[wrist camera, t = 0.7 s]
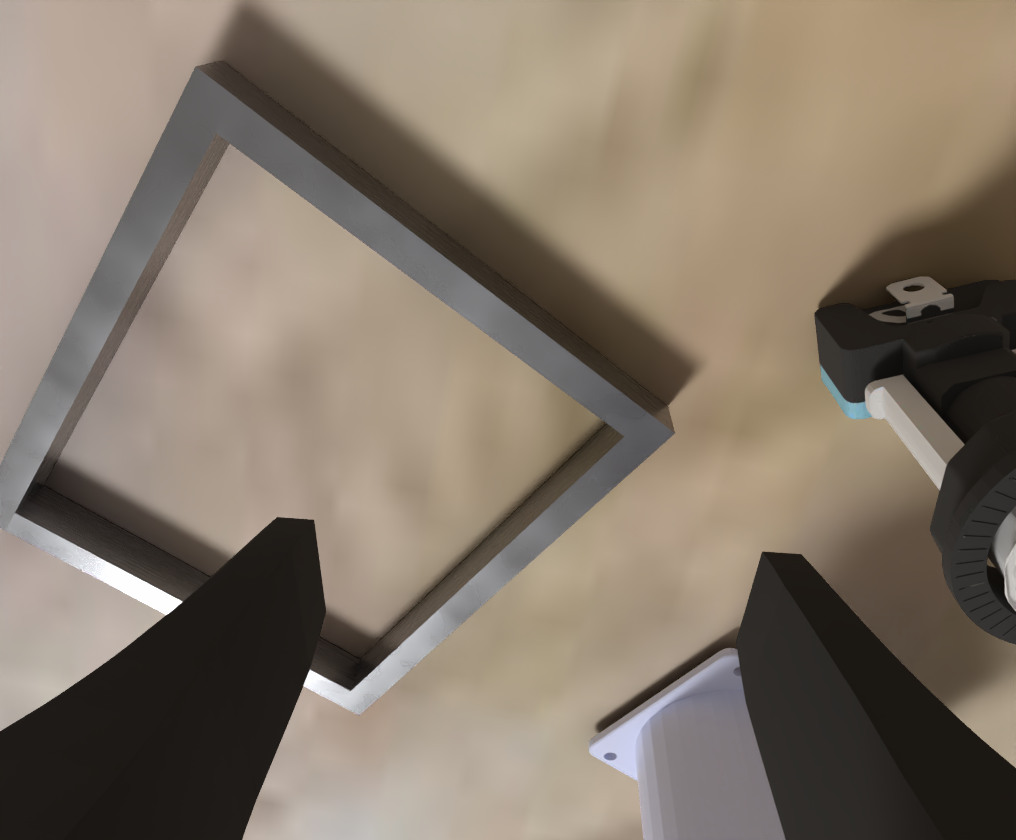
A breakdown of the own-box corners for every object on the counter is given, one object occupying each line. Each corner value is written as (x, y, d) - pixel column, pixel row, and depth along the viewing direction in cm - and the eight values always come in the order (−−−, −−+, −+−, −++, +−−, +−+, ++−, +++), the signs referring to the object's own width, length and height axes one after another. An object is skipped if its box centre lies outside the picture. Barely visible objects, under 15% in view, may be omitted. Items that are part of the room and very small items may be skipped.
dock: (668, 406, 22) (674, 433, 20) (368, 683, 29) (359, 715, 28) (222, 60, 17) (195, 67, 16) (5, 487, 25) (-25, 515, 24)
